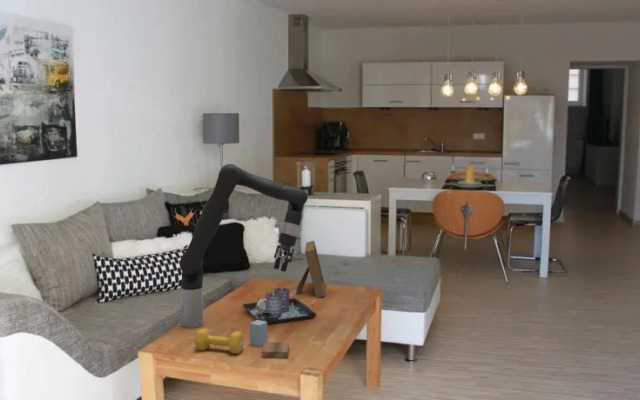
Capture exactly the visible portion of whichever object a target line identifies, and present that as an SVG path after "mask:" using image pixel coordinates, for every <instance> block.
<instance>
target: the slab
mask: <svg viewBox="0 0 640 400" xmlns="http://www.w3.org/2000/svg"><path fill="white" fill-rule="evenodd" d="M289 351H290V342H280V341H279V342H274V341H271V342H270V341H267V342H264V345H262V350H261V358H262V359H288V357H289Z"/></svg>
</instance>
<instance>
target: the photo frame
mask: <svg viewBox="0 0 640 400" xmlns="http://www.w3.org/2000/svg"><path fill="white" fill-rule="evenodd" d="M317 250H318V249H317V246H316V242H315V240H311V241H307V242H306V243H305V247H304V253H305V258H306V263H307V267H306V269H305V270H304V273H303V275H302V276H301V279H299V282H298V284H297V286H296V291H295V295H300V294H301V293H302V292H303V289H304V287H305V284H306V281H307V278H308V276H309V274H310V278H311V282H312V287H313V291H314V294H315V298H316V299H317V298H323V297H325V295H326V294H325V293H326V292H325V291H326V289H325V287H326V285H325V284H326V283H325V280H324V275H323V271H322V267H321V263H320V259H319V254H318V252H317Z"/></svg>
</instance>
